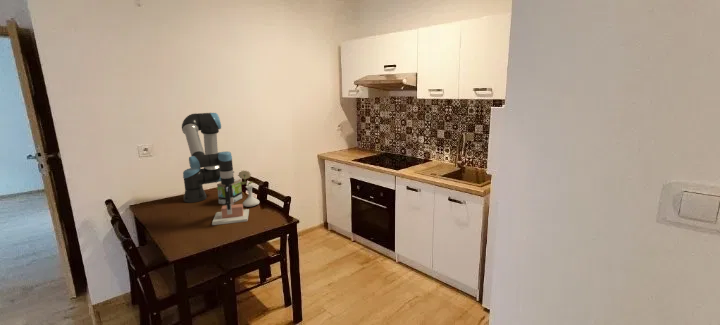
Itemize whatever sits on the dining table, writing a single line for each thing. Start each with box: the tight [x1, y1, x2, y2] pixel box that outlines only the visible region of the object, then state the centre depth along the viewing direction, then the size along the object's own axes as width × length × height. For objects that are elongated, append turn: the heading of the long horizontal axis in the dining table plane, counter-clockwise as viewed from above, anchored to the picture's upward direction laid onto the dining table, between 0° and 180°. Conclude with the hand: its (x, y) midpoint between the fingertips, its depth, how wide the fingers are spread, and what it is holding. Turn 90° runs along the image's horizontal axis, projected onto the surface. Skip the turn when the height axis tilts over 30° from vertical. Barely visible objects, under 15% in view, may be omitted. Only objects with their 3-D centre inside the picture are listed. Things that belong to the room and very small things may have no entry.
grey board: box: [211, 208, 250, 226], centre depth 208 cm, size 18×20×2 cm
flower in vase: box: [237, 169, 260, 208], centre depth 228 cm, size 13×11×25 cm
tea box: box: [216, 178, 243, 205], centre depth 238 cm, size 15×10×15 cm, turn 168°
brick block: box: [220, 203, 244, 218], centre depth 207 cm, size 6×6×12 cm
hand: (230, 210), depth 207 cm, fingers open, 11 cm apart
